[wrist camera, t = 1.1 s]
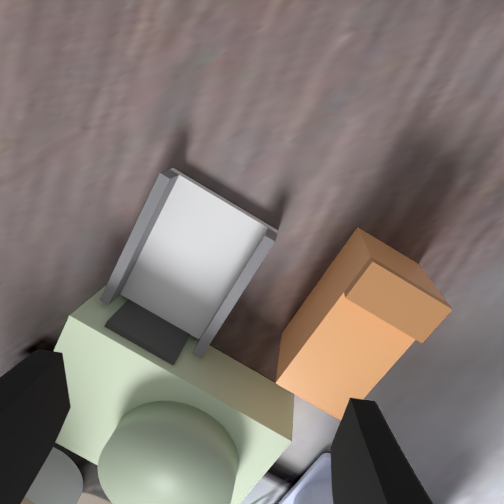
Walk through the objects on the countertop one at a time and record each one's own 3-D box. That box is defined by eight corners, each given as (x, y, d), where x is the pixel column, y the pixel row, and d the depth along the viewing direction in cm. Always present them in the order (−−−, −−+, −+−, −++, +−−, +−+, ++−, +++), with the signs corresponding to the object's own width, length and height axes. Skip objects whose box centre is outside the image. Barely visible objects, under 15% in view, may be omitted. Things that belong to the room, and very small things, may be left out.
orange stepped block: (418, 263, 22) (452, 309, 17) (336, 364, 25) (343, 430, 19) (357, 226, 22) (372, 261, 16) (281, 332, 24) (274, 391, 19)
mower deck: (376, 289, 22) (399, 347, 17) (229, 476, 29) (209, 564, 23) (163, 162, 22) (113, 178, 16) (59, 382, 28) (-4, 449, 22)
